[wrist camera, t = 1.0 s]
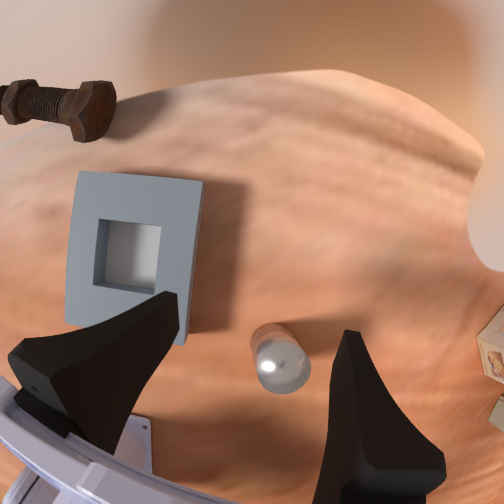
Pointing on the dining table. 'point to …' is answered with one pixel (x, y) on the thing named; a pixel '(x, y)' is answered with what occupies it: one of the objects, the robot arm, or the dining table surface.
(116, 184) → the hole block
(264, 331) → the pin
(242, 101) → the dining table surface
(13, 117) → the bolt
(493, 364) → the coffeecake box
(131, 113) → the dining table surface
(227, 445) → the dining table surface
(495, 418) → the skincare box
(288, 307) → the dining table surface
